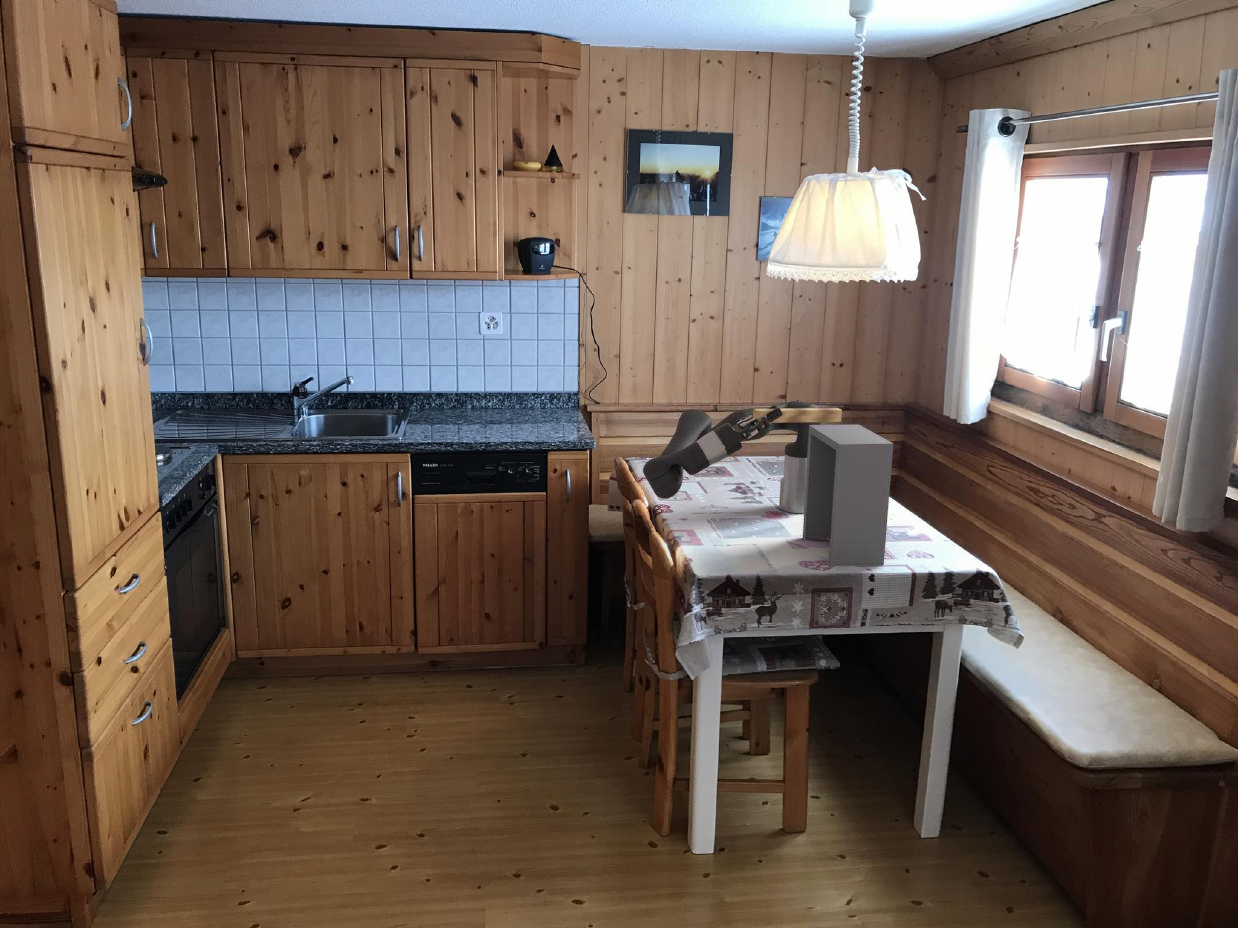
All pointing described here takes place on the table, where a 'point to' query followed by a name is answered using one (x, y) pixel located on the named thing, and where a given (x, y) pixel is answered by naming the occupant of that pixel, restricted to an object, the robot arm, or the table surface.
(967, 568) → the table surface
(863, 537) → the gray shelf
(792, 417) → the wooden rod
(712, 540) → the table surface
